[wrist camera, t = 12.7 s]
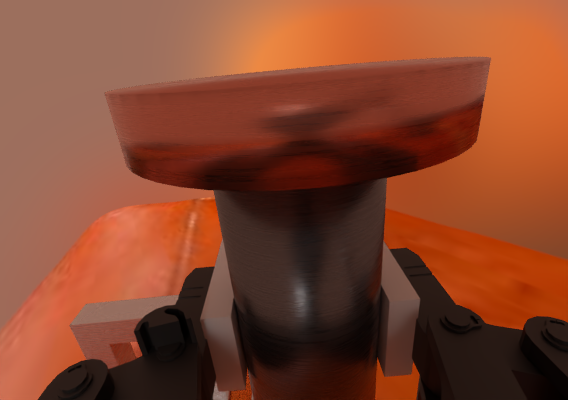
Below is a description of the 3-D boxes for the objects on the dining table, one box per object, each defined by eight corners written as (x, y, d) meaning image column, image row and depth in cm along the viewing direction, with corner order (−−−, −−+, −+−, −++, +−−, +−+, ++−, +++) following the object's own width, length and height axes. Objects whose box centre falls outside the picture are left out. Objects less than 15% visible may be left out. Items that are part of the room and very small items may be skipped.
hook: (326, 219, 30) (320, 61, 25) (454, 592, 9) (643, 51, 3) (255, 225, 30) (233, 69, 25) (214, 613, 9) (-23, 112, 3)
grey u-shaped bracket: (234, 360, 27) (216, 278, 24) (227, 420, 23) (203, 329, 19) (128, 370, 27) (93, 290, 24) (100, 432, 23) (51, 344, 19)
